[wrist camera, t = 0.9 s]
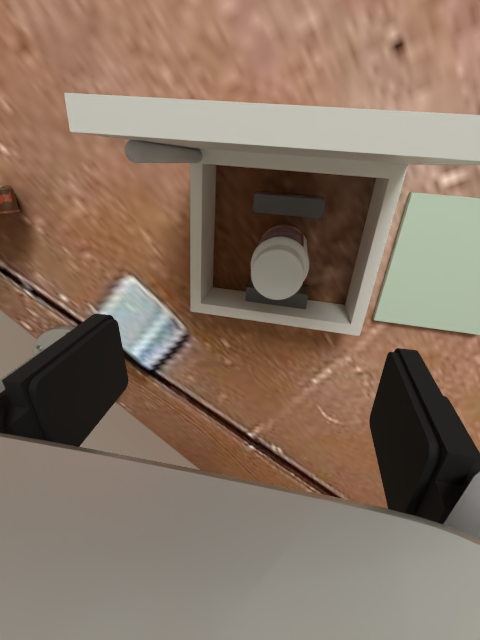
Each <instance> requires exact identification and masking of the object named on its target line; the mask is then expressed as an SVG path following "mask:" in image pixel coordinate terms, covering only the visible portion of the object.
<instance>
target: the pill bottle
mask: <svg viewBox="0 0 480 640" xmlns="http://www.w3.org/2000/svg"><path fill="white" fill-rule="evenodd" d="M308 271H309V253H308V244H307V240H306V238H305V236H304V234H303V233H302V232H301V231H300V230H299V229H298V228H296V227H294V226H291V225H286V224H282V225H277V226H274V227H272V228H270V229H269V230H268V231H267V232H266V233H265V234H264V235H263V236H262V238H261V240H260V242H259V244H258V246H257V247H256V249H255V251H254V253H253V255H252V259H251V280H252V283H253V285H254V287H255V289H256V290H257V291H258V292H259V293H260V294H261V295H263V296H265V297H266V298H269V299H273V300H282V299H286V298H289V297H291V296H292V295H294V294H295V293H296V292H297V291H298V290H299V289H300V287H301V286H302V283H303V281H304V280H305V279H306V277H307V274H308Z"/></svg>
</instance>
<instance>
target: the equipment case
mask: <svg viewBox="0 0 480 640" xmlns="http://www.w3.org/2000/svg"><path fill="white" fill-rule="evenodd" d="M64 95H65V101H66V108H67V114H68V121H69V127H70V132H75V133H83V134H90V135H97V136H105V137H112V138H119V139H127V140H130V141H129V142H128V143H127V144H126V146H125V153H126V156H127V157H128V159H129V160H130V161H132V162H134V163H190V285H191V312H198V313H205V314H212V315H218V316H225V317H232V318H239V319H246V320H253V321H260V322H267V323H274V324H280V325H287V326H294V327H301V328H308V329H315V330H322V331H329V332H336V333H342V334H349V335H356V336H360V333H361V329H362V326H363V322H364V319H365V315H366V312H367V308H368V305H369V301H370V298H371V294H372V290H373V287H374V283H375V280H376V276H377V273H378V269H379V266H380V262H381V259H382V255H383V252H384V248H385V245H386V241H387V237H388V234H389V230H390V227H391V223H392V220H393V216H394V213H395V209H396V206H397V202H398V199H399V195H400V192H401V188H402V184H403V181H404V177H405V174H406V170H407V167H408V164H419V165H480V115H467V114H449V113H430V112H412V111H393V110H374V109H356V108H337V107H318V106H300V105H281V104H262V103H244V102H225V101H206V100H188V99H169V98H151V97H132V96H113V95H95V94H76V93H64ZM216 165H225V166H238V167H250V168H262V169H275V170H287V171H299V172H312V173H324V174H337V175H349V176H361V177H374V178H376V181H375V185H374V189H373V193H372V197H371V201H370V205H369V209H368V213H367V217H366V222H365V226H364V230H363V234H362V238H361V242H360V246H359V250H358V254H357V258H356V262H355V266H354V270H353V274H352V279H351V283H350V287H349V291H348V295H347V299H346V303H345V305H343V304H335V303H328V302H320V301H313V300H308V286H303V285H302V286H301V287H300V289H299V290H298V291H297V292H296V293H295V294H294V295H292V296H291V297H289V298H286V299H282V300H273V299H269V298H266V297H265V296H263V295H261V294H260V293H259V292H258V291H257V290H256V289H255V287H254V285H253V283H252V280H251V279H250V280H249V282H248V285H247V287H246V292H245V291H238V290H230V289H223V288H215V287H213V261H214V229H215V196H216ZM325 202H326V199H325V198H324V197H316V196H304V195H293V194H282V193H271V192H260V191H258V192H256V193H254V201H253V212H258V213H268V214H278V215H288V216H298V217H308V218H318V219H323V213H324V208H325Z"/></svg>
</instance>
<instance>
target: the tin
mask: <svg viewBox="0 0 480 640" xmlns="http://www.w3.org/2000/svg"><path fill="white" fill-rule="evenodd" d="M19 212H20V210H19V208H18V204H17V200H16V196H15V193H14V190H13V188H12V187H11V186H0V215H2V214H12V213H19Z"/></svg>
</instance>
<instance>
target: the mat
mask: <svg viewBox="0 0 480 640" xmlns="http://www.w3.org/2000/svg"><path fill="white" fill-rule="evenodd" d="M373 319H374V320H376V321H383V322H390V323H398V324H405V325H412V326H419V327H427V328H434V329H441V330H448V331H456V332H463V333H470V334H477V335H480V198H470V197H459V196H447V195H435V194H424V193H412V192H410V194H409V197H408V201H407V204H406V207H405V211H404V214H403V217H402V221H401V224H400V228H399V231H398V234H397V238H396V241H395V244H394V248H393V251H392V255H391V258H390V261H389V265H388V268H387V271H386V275H385V278H384V282H383V285H382V288H381V292H380V295H379V298H378V302H377V305H376V309H375V312H374V315H373Z"/></svg>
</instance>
